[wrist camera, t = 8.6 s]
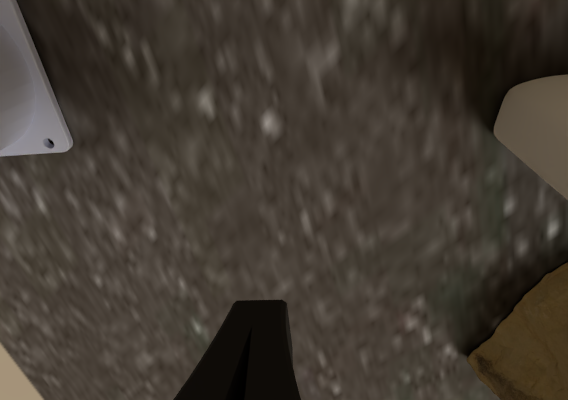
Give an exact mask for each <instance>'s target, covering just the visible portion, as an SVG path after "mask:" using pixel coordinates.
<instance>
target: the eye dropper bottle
mask: <svg viewBox="0 0 568 400" xmlns="http://www.w3.org/2000/svg"><path fill="white" fill-rule="evenodd" d="M494 135H495V136H496V138H497V139H498V140H499V141H500V142H501V143H502V144H503V145H505V146H506V147H507V148H508V149H509V150H510V151H511V152H513V153H514V154H515V155H516V156H517V157H518V158H520V159H521V160H522V161H523V162H524V163H525V164H526V165H528V166H529V167H530V168H531V169H532V170H533V171H534V172H536V173H537V174H538V175H539V176H540V177H541V178H543V179H544V180H545V181H546V182H547V183H548V184H550V185H551V186H552V187H553V188H554V189H555V190H557V191H558V192H559V193H560V194H561V195H562V196H564V197H565V198H566V199H567V200H568V75H557V76H549V77H544V78H539V79H535V80H531V81H527V82H524V83H521V84H519V85H516V86H514V87H513V88H511V89H510V90H509V91H508V93H507V94H506V95H505V97H504V100H503V102H502V105H501V108H500V110H499V113H498V116H497V119H496V122H495V125H494Z"/></svg>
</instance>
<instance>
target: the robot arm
mask: <svg viewBox="0 0 568 400" xmlns="http://www.w3.org/2000/svg"><path fill="white" fill-rule="evenodd" d="M48 138H49V139H51V140H52V141H53V143H54V145H52V144H51V143H50V142H49V141H48ZM72 146H73V140H72V137H71V135H70V132H69V130H68V127H67V125H66V122H65V120H64V117H63V115H62V112H61V110H60V107H59V105H58V102H57V100H56V97H55V95H54V92H53V90H52V88H51V85H50V83H49V80H48V78H47V75H46V73H45V70H44V68H43V65H42V63H41V60H40V58H39V55H38V53H37V50H36V48H35V45H34V43H33V41H32V38H31V36H30V33H29V31H28V28H27V26H26V23H25V21H24V18H23V16H22V13H21V11H20V8H19V6H18V3H17V1H16V0H0V156H13V155H28V154H43V153H58V152H66V151H68V150H69V149H70V148H71V147H72ZM174 400H301V398H300V395H299V391H298V387H297V383H296V379H295V375H294V370H293V362H292V341H291V334H290V326H289V318H288V310H287V303H286V302H284V301H283V300H250V301H236V302H235V303H234V304H233V306H232V308H231V310H230V311H229V313H228V315H227V317H226V319H225V321H224V322H223V324H222V326H221V328H220V329H219V331H218V333H217V334H216V336H215V338H214V339H213V341H212V343H211V344H210V346H209V348H208V349H207V351H206V352H205V354H204V355H203V357H202V359H201V360H200V362H199V363H198V365H197V366H196V368H195V369H194V371H193V373H192V374H191V375H190V377H189V378H188V380H187V381H186V383H185V384H184V386H183V387H182V388H181V390H180V391H179V393H178V394H177V395H176V397H175V398H174Z"/></svg>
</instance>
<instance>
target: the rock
mask: <svg viewBox="0 0 568 400" xmlns="http://www.w3.org/2000/svg"><path fill="white" fill-rule="evenodd" d="M467 362H468V363H469V364H470V365H471V366H472V368H473V369H474V371H475V372H476V374H477V376H478V378H479V379H480V380H481V381H482V382H483V383H484V384H486V385H487V386H488V387H489V388H490V389H491V390H492V391H493V392H494V394H496V395H497V396H498V397H499V398H500V399H501V400H568V262H567V263H566V264H564V265H562V266H560V267H559V268H557V269H556V270H555V271H553V272H552V273H548V274H546V275H545V276H544V277H543V279H542V280H541V281H540V282H539V283H538V284H537V285H536V286H535V287H534V288H532V289H531V290H530V291H529V292H528V293H526V294H525V295H524V296H523V299H522V300H521V301H520V302H519V303H518V304H517V305H516V306H515V307H514V309H513V312H512V313H511V314H510V315H509V316H508V317H507V318H506V319H505V320H503V321H502V322H501V323H500V325H499V326H498V327H497V328H496V330H495V333H494V334H493V336H492V337H491V338H490V339H488V340H487V341H486V342H484V343H482V344H481V345H480V346H479V347H478V348H477V349H475V350H473V351H472V353H471V354H470V356H469V357H468V358H467Z"/></svg>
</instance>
